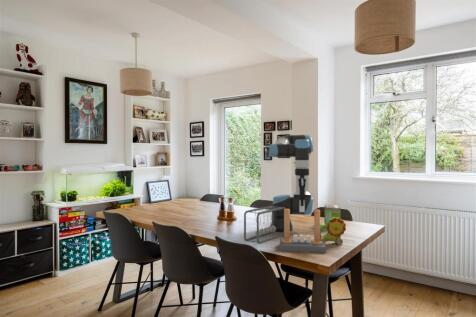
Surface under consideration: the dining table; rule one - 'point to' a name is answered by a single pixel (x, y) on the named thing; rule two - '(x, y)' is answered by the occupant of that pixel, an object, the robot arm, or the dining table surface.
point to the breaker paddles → (302, 239)
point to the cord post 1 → (287, 227)
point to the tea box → (331, 212)
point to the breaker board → (302, 247)
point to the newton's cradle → (265, 230)
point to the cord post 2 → (317, 228)
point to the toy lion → (333, 230)
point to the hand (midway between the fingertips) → (301, 211)
